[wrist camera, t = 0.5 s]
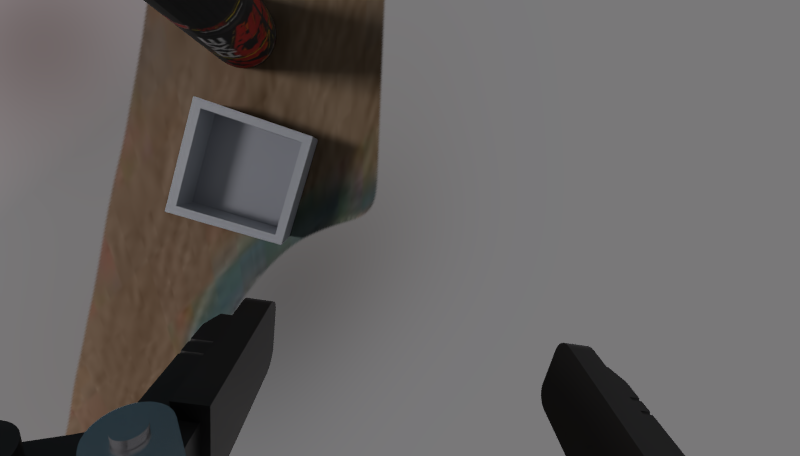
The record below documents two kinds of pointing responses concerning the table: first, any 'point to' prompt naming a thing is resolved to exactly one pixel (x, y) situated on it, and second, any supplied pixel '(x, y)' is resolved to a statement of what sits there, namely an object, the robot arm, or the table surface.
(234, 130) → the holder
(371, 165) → the table surface
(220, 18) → the deodorant
